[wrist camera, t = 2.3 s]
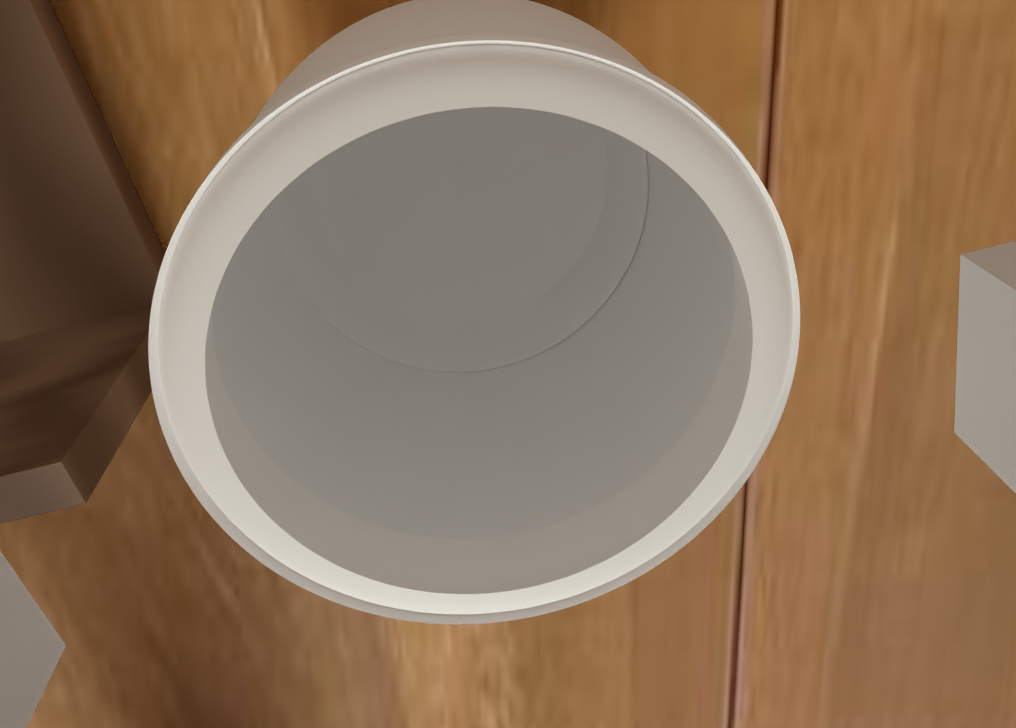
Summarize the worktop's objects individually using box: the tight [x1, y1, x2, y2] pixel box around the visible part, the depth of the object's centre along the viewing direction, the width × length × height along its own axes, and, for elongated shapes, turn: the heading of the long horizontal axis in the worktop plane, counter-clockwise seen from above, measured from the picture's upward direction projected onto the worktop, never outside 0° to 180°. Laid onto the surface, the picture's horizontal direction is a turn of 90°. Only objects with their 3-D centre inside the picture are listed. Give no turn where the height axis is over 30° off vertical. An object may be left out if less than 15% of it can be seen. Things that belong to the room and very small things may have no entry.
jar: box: [148, 0, 800, 624], centre depth 20 cm, size 11×10×15 cm
